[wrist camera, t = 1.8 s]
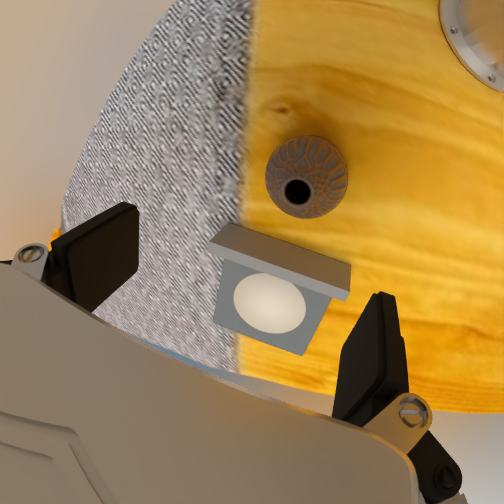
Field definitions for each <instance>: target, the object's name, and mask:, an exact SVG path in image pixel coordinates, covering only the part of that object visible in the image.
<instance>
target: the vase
mask: <svg viewBox="0 0 504 504" xmlns="http://www.w3.org/2000/svg"><path fill="white" fill-rule="evenodd" d="M265 181H266V187H267V190H268V193H269V195H270V197H271V199H272V200H273V202H274V203H275V204H276V206H277V207H278V208H280V209H281V210H282V211H283V212H285V213H287V214H289V215H291V216H293V217H297V218H302V219H311V218H317V217H320V216H323V215H325V214H327V213H329V212H330V211H332V210H333V209H334V208H335V207H336V206H337V205H338V204H339V203H340V202H341V200H342V199H343V197H344V195H345V192H346V190H347V185H348V170H347V166H346V163H345V160H344V158H343V156H342V155H341V153H340V152H339V151H338V149H337V148H336V147H335V146H334V145H332V144H331V143H330V142H328V141H326V140H324V139H322V138H319V137H315V136H298V137H294V138H291V139H289V140H287V141H285V142H284V143H282V144H281V145H280V146H279V147H277V148H276V150H275V151H274V152H273V153H272V155H271V157H270V159H269V161H268V163H267V167H266V173H265Z"/></svg>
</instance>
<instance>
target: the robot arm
mask: <svg viewBox="0 0 504 504" xmlns="http://www.w3.org/2000/svg"><path fill="white" fill-rule="evenodd" d="M439 12H440V21H441V25H442V29H443V31H444V34H445V36H446V39H447V41H448V43H449V45H450V46H451V48H452V50H453V52H454V53H455V55H456V56H457V57H458V59H459V60H460V62H461V63H462V64H463V65H464V66H465V67H466V68H467V70H468V71H469V72H470V73H471V74H472V75H474V76H475V77H476V78H477V79H478V80H479V81H481V82H482V83H484V84H485V85H486V86H488V87H490V88H492V89H494V90H496V91H498V92H501V93H504V0H440V6H439ZM450 30H451V31H452V32H453V34H452V33H451V32H450ZM488 77H489V78H490V81H489V79H488ZM51 247H52V251H50V252H49V251H48V248H47V247H46V246H45V245H43V244H40V243H33V244H29V245H25V246H24V247H22V248H20V249H19V250H18V251H17V252H16V254H15V256H14V258H13V260H9V261H0V504H468V503H467V500H466V498H465V495H464V493H463V494H461V495H460V494H459V489H460V488H461V484H462V474H461V470H460V468H459V466H458V465H457V464H456V462H455V461H454V460H453V459H452V458H451V457H450V455H449V454H448V453H447V452H446V451H445V449H444V448H443V447H442V446H441V444H440V443H439V442H438V441H437V440H436V438H435V437H434V436H433V435H432V434H431V433H430V431H429V430H428V429H429V427H430V426H431V424H432V411H431V409H430V407H429V405H428V404H427V402H426V401H425V400H424V399H423V398H422V397H420V396H418V395H416V394H414V393H409V383H408V371H407V361H406V352H405V343H404V339H403V337H402V336H401V334H400V326H399V319H398V312H397V306H396V299H395V296H393V295H390V294H387V293H385V292H382V291H380V292H379V293H378V294H375V293H374V294H373V295H372V296H371V298H370V300H369V302H368V303H367V305H366V307H365V309H364V311H363V312H362V314H361V316H360V318H359V319H358V321H357V323H356V325H355V326H354V328H353V330H352V331H351V333H350V335H349V336H348V338H347V340H346V341H345V343H344V345H343V347H342V350H341V355H340V363H339V371H338V379H337V386H336V393H335V400H334V406H333V412H332V417H330V416H327V415H323V414H320V413H317V412H314V411H311V410H307V409H304V408H301V407H298V406H295V405H292V404H289V403H286V402H284V401H281V400H278V399H275V398H272V397H269V396H267V395H264V394H261V393H258V392H255V391H253V390H250V389H248V388H245V387H242V386H240V385H237V384H235V383H232V382H229V381H227V380H225V379H222V378H220V377H217V376H215V375H213V374H210V373H208V372H206V371H203V370H201V369H199V368H197V367H195V366H192V365H190V364H188V363H186V362H183V361H181V360H179V359H177V358H175V357H173V356H171V355H169V354H167V353H164V352H162V351H160V350H158V349H156V348H154V347H152V346H150V345H148V344H147V343H144V342H143V341H140V340H139V339H137V338H135V337H133V336H131V335H129V334H128V333H126V332H124V331H122V330H120V329H118V328H117V327H115V326H113V325H111V324H109V323H108V322H106V321H104V320H102V319H101V318H99V317H97V316H96V315H94V314H92V312H93V311H94V310H95V309H96V308H97V307H98V306H99V305H100V304H101V303H103V302H104V301H105V300H106V299H107V298H108V297H109V296H110V295H111V294H112V293H114V292H115V291H116V290H117V289H118V288H119V287H120V286H121V285H123V284H124V283H125V282H126V281H127V280H128V279H129V278H130V277H132V276H133V275H134V274H135V273H136V272H137V270H138V266H139V211H138V210H137V207H136V206H135V205H133V204H130V203H127V202H121V203H119V204H117V205H115V206H113V207H111V208H109V209H108V210H106V211H104V212H102V213H100V214H98V215H96V216H95V217H93V218H91V219H89V220H88V221H86V222H84V223H82V224H80V225H79V226H77V227H75V228H74V229H72V230H70V231H68V232H67V233H65V234H63V235H62V236H60V237H58V238H57V239H55V240H54V241H52V242H51Z"/></svg>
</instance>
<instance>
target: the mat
mask: <svg viewBox="0 0 504 504" xmlns="http://www.w3.org/2000/svg"><path fill="white" fill-rule="evenodd" d="M331 298H332V297H330V296H328V295H325V294H322V293H319V292H316V291H313V290H311V289H308V288H305V287H302V286H299V285H297V284H294V283H291V282H288V281H285V280H283V279H280V278H277V277H274V276H272V275H269V274H266V273H263V272H261V271H258V270H255V269H252V268H250V267H247V266H244V265H241V264H239V263H236V262H233V261H230V260H228V259H225V260H224V265H223V270H222V275H221V281H220V286H219V291H218V297H217V302H216V308H215V313H214V319H213V323H215V324H218V325H220V326H223V327H225V328H228V329H230V330H233V331H235V332H238V333H240V334H243V335H245V336H248V337H251V338H253V339H256V340H258V341H261V342H264V343H266V344H269V345H272V346H275V347H277V348H280V349H283V350H286V351H289V352H292V353H294V354H297V355H300V356H303V354H304V352H305V350H306V348H307V346H308V344H309V342H310V341H311V339H312V337H313V335H314V333H315V331H316V329H317V327H318V325H319V323H320V321H321V319H322V317H323V315H324V313H325V311H326V309H327V307H328V305H329V303H330V301H331Z"/></svg>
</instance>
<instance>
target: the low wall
mask: <svg viewBox="0 0 504 504" xmlns="http://www.w3.org/2000/svg"><path fill="white" fill-rule="evenodd" d="M208 252H209V253H211V254H214V255H217V256H220V257H222V258H225V259H228V260H230V261H233V262H236V263H239V264H241V265H244V266H247V267H250V268H252V269H255V270H258V271H261V272H263V273H266V274H269V275H272V276H274V277H277V278H280V279H283V280H285V281H288V282H291V283H294V284H297V285H299V286H302V287H305V288H308V289H311V290H313V291H316V292H319V293H322V294H325V295H328V296H330V297H333V298H336V299H339V300H342V301H345V300H346V298H347V296H348V294H349V292H350V278H351V265H349V264H346V263H343V262H341V261H338V260H335V259H332V258H329V257H327V256H324V255H321V254H318V253H315V252H313V251H310V250H307V249H304V248H301V247H298V246H296V245H293V244H290V243H287V242H284V241H281V240H278V239H276V238H273V237H270V236H267V235H264V234H261V233H258V232H255V231H252V230H249V229H247V228H244V227H241V226H238V225H235V224H232V223H229V222H228V223H227V224H226V225H225V226H224V227H223V228H222V229H221V230H220V231H219V232H218V233H217V234H216V235H215V236H214V237H213V238H212V239H211V240H210V241H209V245H208Z"/></svg>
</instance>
